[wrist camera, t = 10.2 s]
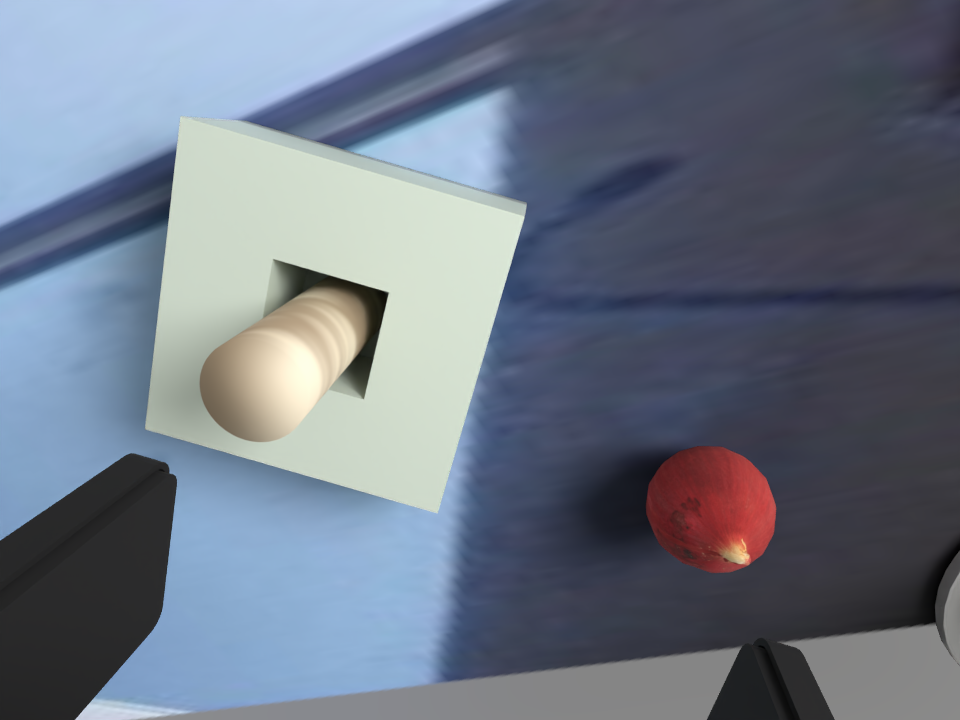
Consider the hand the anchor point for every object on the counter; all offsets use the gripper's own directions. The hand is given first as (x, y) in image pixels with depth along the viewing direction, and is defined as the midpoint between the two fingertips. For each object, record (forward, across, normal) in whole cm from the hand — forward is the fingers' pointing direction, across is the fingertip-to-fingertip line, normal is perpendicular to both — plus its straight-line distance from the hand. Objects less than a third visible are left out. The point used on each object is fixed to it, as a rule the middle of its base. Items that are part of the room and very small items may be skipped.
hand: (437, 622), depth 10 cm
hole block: (+23, +8, +2) cm, 25 cm away
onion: (+24, -11, +6) cm, 28 cm away
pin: (+22, +8, +2) cm, 24 cm away
